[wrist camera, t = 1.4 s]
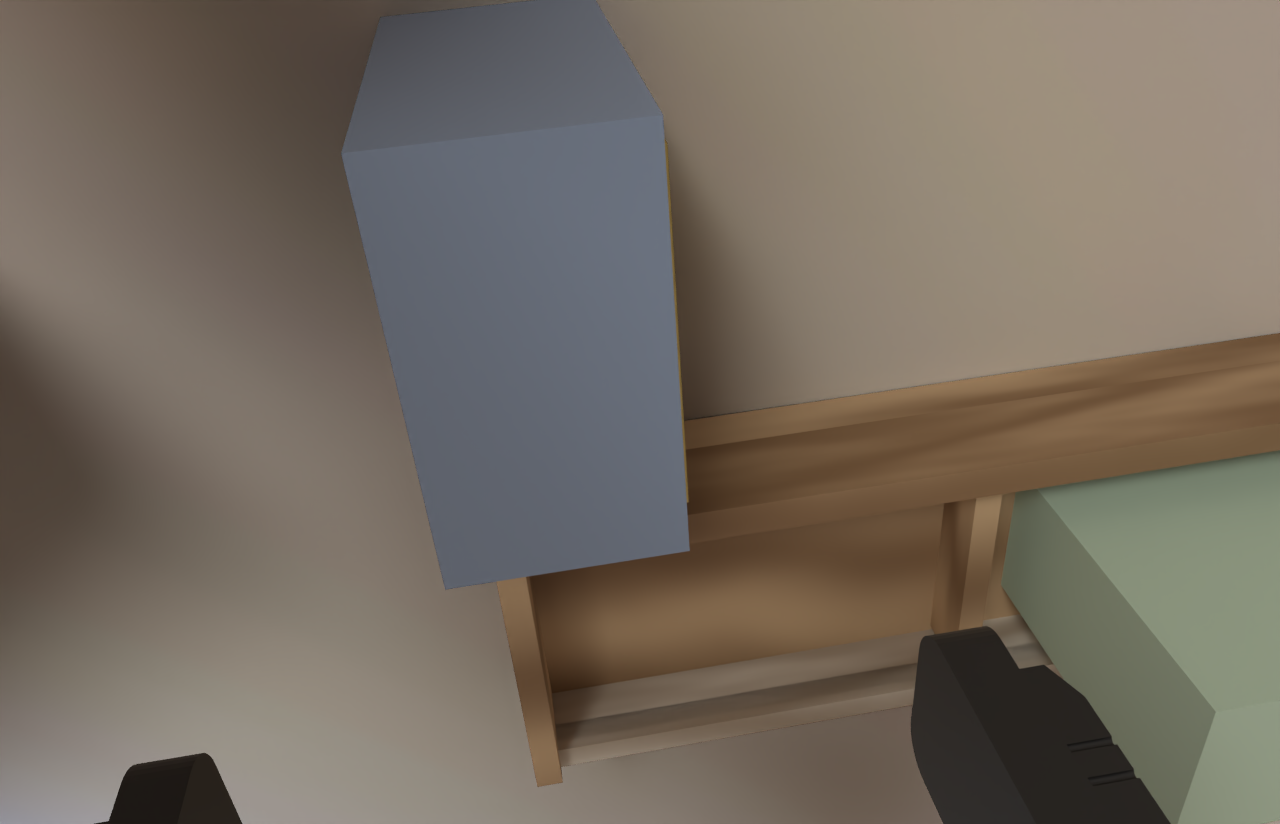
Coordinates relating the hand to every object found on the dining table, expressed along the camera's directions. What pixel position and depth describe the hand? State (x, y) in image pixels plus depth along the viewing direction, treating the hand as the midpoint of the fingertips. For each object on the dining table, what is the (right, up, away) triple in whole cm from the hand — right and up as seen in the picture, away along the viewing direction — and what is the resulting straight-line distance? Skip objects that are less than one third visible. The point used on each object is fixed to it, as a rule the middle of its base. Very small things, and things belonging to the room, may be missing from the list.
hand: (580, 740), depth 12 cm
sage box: (+17, +1, +23) cm, 28 cm away
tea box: (-3, +10, +15) cm, 18 cm away
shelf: (+10, 0, +23) cm, 25 cm away
